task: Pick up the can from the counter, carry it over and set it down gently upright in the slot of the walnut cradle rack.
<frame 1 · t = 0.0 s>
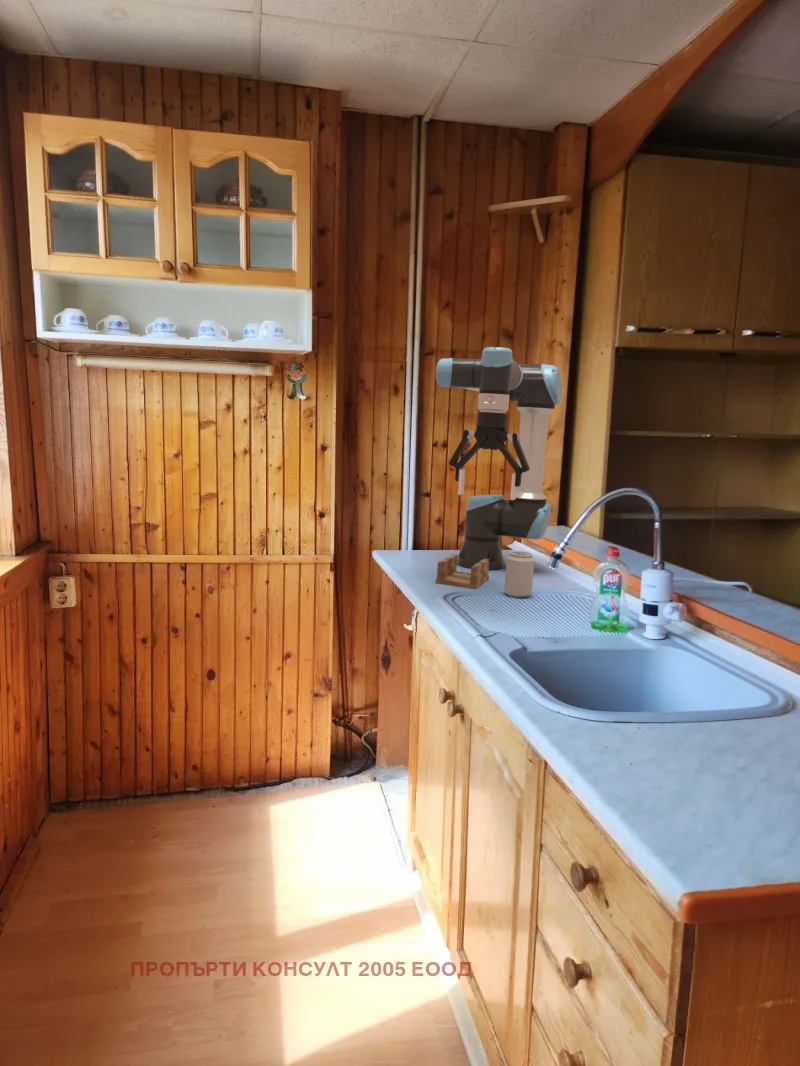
hand: (486, 497, 182), 28 cm above the table, tool pointing down, fingers open, 13 cm apart
can: (517, 595, 199), on the table
rack: (462, 581, 212), on the table
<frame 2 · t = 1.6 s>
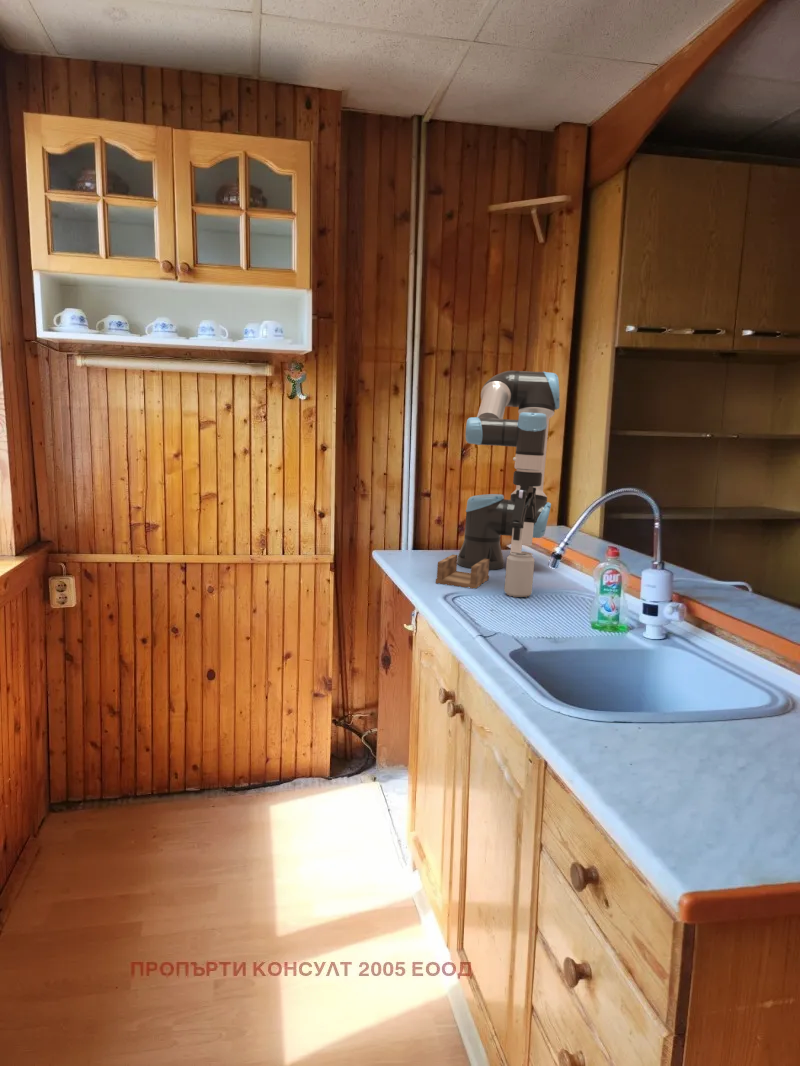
hand: (521, 548, 197), 13 cm above the table, tool pointing down, fingers open, 13 cm apart
nothing on the table moved.
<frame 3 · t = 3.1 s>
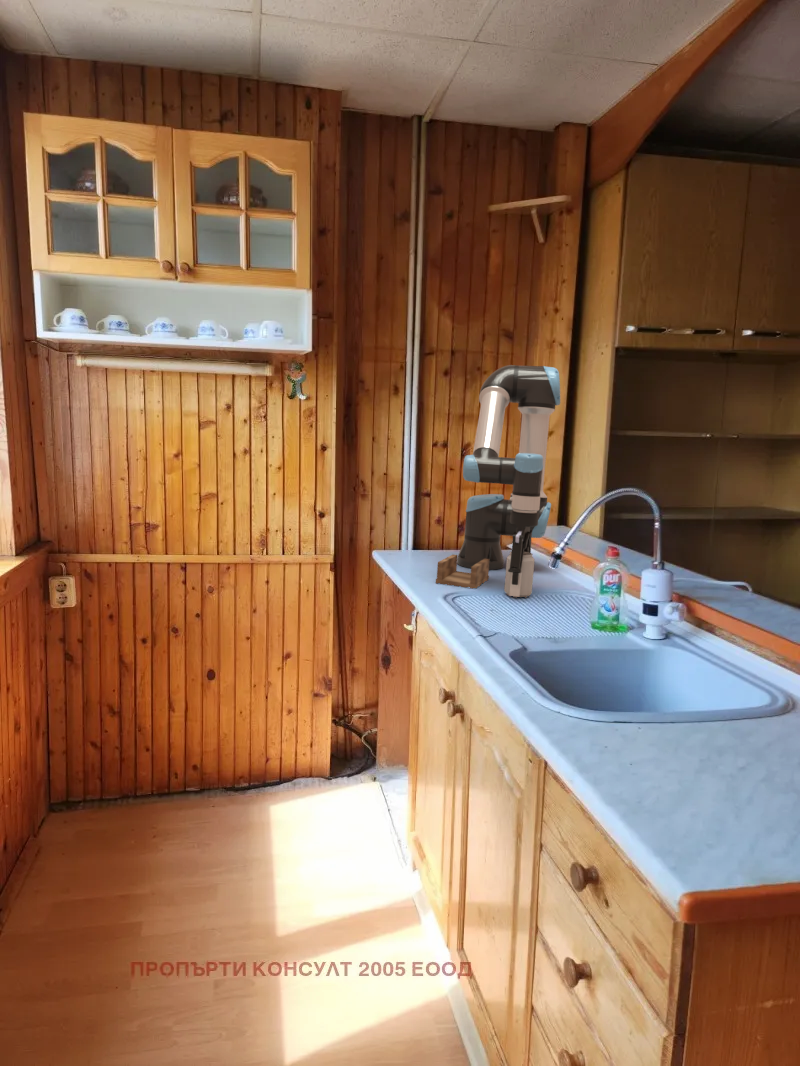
hand: (517, 592, 199), 1 cm above the table, tool pointing down, fingers closed on can, 7 cm apart
can: (517, 595, 199), on the table, touching gripper
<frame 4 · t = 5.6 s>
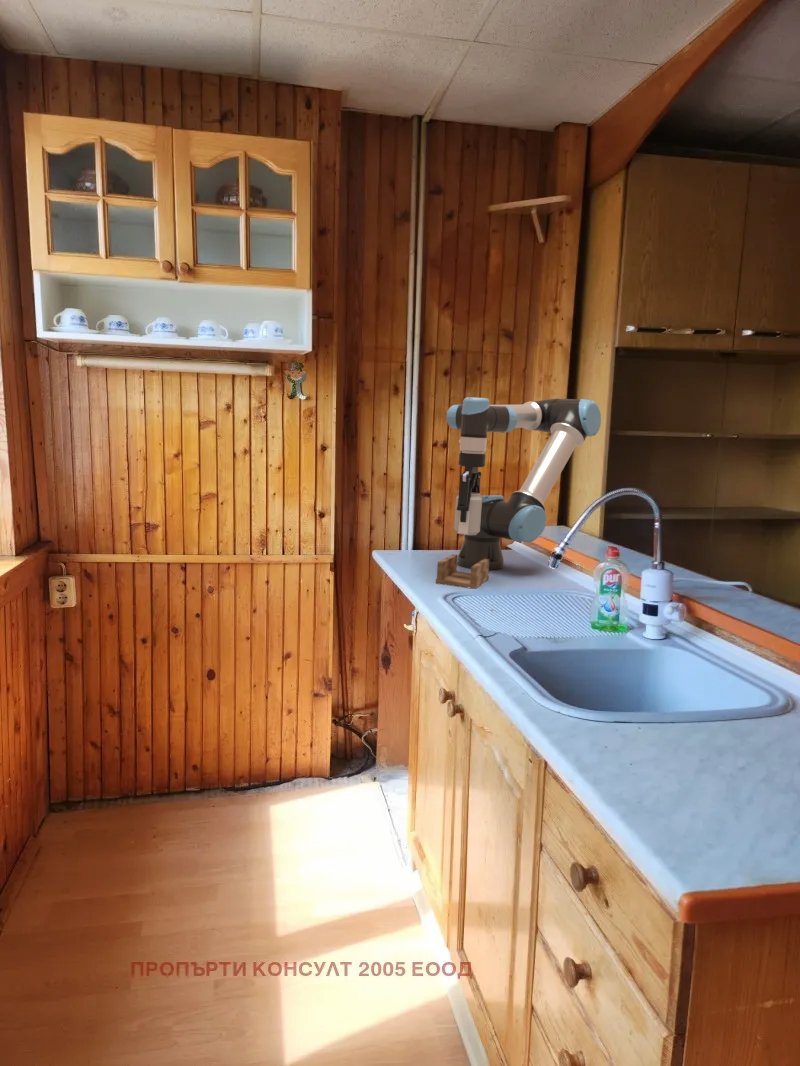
hand: (467, 531, 210), 15 cm above the table, tool pointing down, fingers closed on can, 7 cm apart
can: (466, 534, 210), point 14 cm above the table, touching gripper
when the fingers open (4 cm above the table, at t = 8.1 s): can drops 2 cm, resting on rack.
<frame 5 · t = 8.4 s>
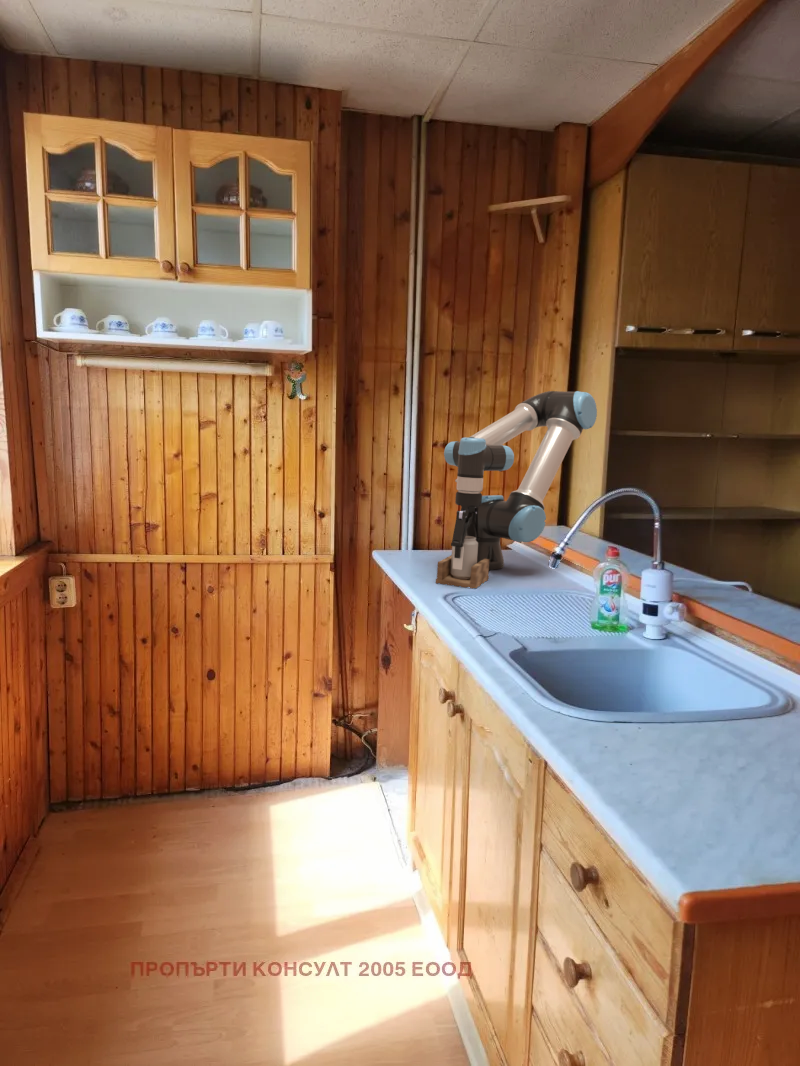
hand: (463, 565, 212), 5 cm above the table, tool pointing down, fingers open, 12 cm apart
can: (463, 577, 212), point 1 cm above the table, touching rack
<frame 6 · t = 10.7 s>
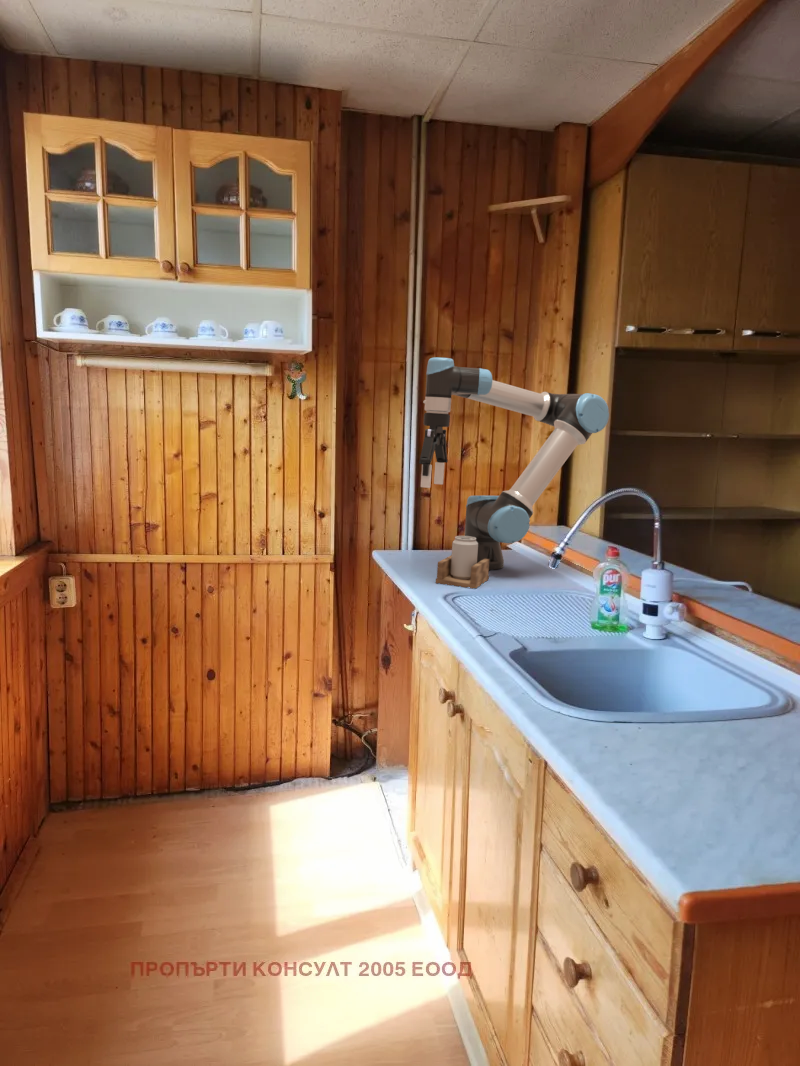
hand: (432, 485, 212), 27 cm above the table, tool pointing down, fingers open, 13 cm apart
nothing on the table moved.
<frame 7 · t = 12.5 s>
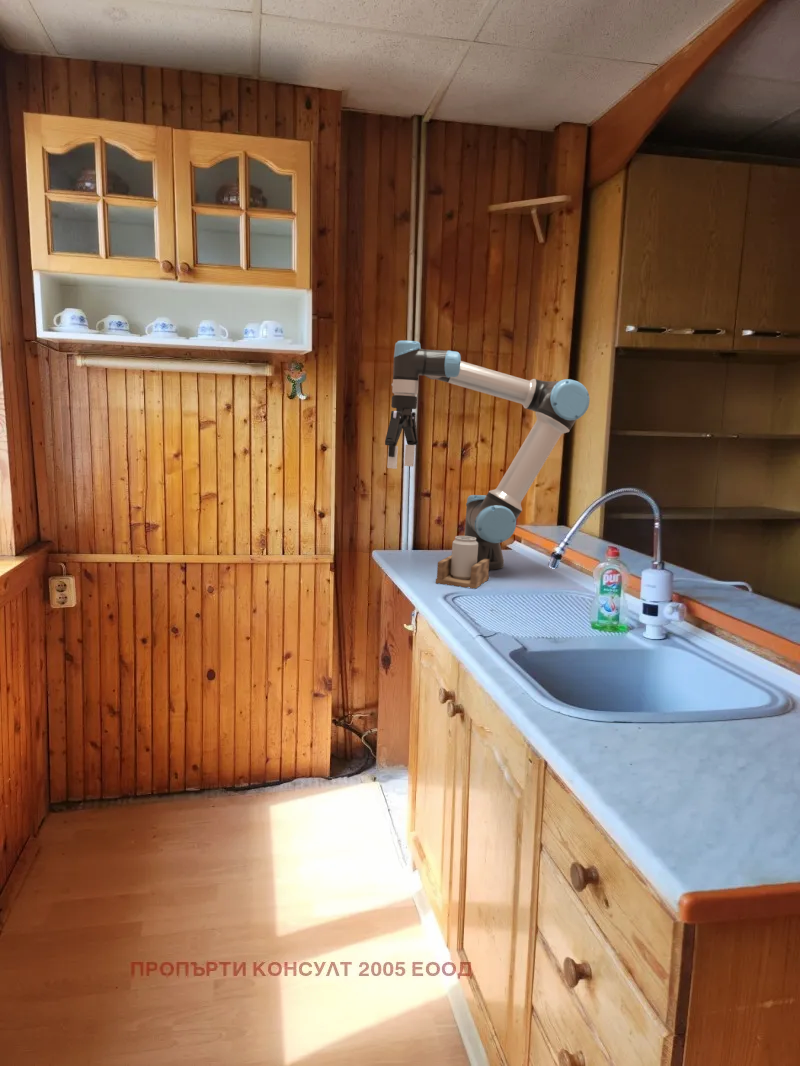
hand: (400, 467, 216), 32 cm above the table, tool pointing down, fingers open, 13 cm apart
nothing on the table moved.
at the end: can inside the target area on the rack (0.1 cm from its centre), point 1.0 cm above the rack's base; can tilted 0°; the gripper is holding nothing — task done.
